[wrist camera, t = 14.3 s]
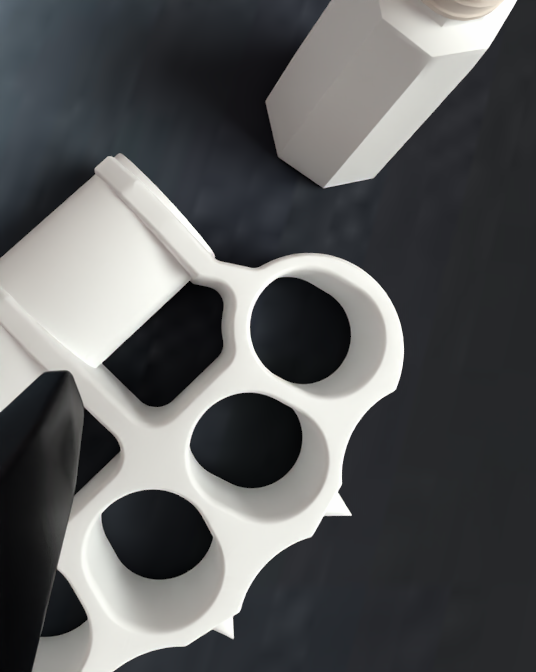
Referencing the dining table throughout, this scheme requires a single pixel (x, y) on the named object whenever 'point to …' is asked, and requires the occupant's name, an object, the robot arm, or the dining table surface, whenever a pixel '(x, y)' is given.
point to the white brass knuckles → (175, 405)
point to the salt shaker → (374, 80)
